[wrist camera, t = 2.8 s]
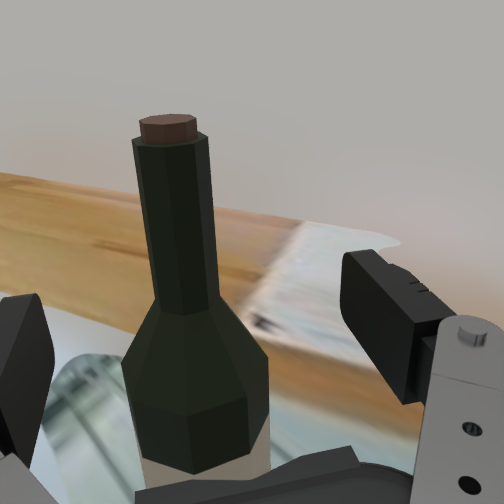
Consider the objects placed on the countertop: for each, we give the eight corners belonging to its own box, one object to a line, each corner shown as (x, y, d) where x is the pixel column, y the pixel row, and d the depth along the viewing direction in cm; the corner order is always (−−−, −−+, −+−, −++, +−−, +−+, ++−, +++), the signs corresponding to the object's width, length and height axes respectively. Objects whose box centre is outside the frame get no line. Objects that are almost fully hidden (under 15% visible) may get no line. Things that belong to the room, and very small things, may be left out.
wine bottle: (209, 639, 28) (141, 152, 15) (133, 545, 33) (32, 124, 20) (295, 538, 33) (302, 113, 20) (218, 471, 39) (183, 99, 25)
